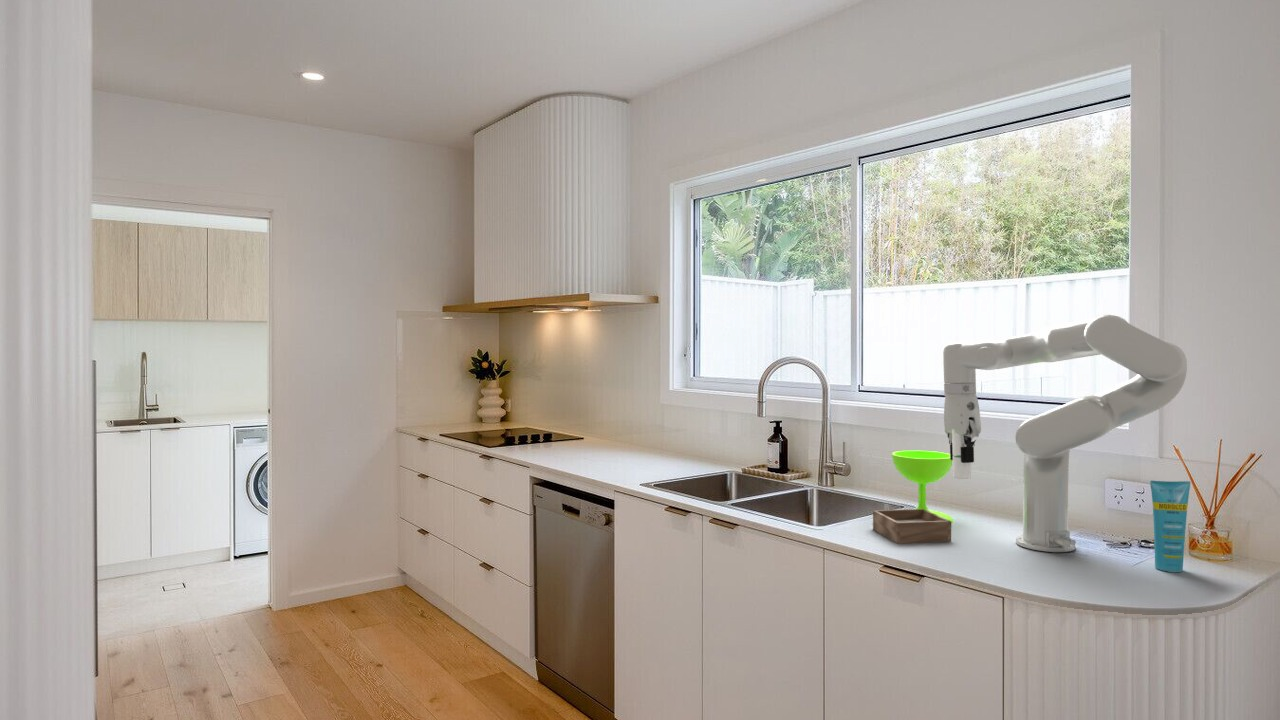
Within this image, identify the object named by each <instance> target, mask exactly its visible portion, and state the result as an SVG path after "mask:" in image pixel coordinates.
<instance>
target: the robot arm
mask: <svg viewBox="0 0 1280 720" xmlns="http://www.w3.org/2000/svg"><path fill="white" fill-rule="evenodd" d="M942 355H943V357H942V358H943V360H942V361H943V364H942V365H943V389H944V390H943V391H944V392H943V396H944V398H945V399H944V404H943V405H944V407H943V408H944V409H943V424H944V425H943V426H944V432H945V434H946V435H947V438H948V444H949V454H950V459H951V460H953V448H952V429H954V431H955V433H957V434H959V435H961V441H962V446H963V447H961V462H962V463H971V464H972V463H975V451H974V450H975V446H976V444H975V443H976V441H977V439H978V438H980V437H979V436H980V434H981V432H982V426H981V425H982V424H981V413H980V412H981V411H980V404H979V400H978V396H977V383H976V382H977V380H976V375H977V374H976V370H981V371H983V370H985V371H992V370H993V371H994V370H1003V369H1007V368H1013V367H1019V366H1026V365H1031V364H1038V363H1040V364H1041V363H1056V362H1063V361H1068V360H1073V359H1075V360H1076V359H1081V358H1086V357H1087V358H1088V357H1095V356H1100V355H1101V356H1104V357H1105V358H1107V359H1109V360H1110V361H1112V362H1114V363H1116V364H1118V365H1120V366H1121V367H1124V368H1125V369H1127V370H1129V371H1131V372H1133V373H1135V374H1136V375H1135V376H1134V377H1132V378H1130V379H1128V380H1125V381H1123V382H1120V383H1118V384H1117V385H1114V386H1112V387H1110V388H1107V389H1105V390H1102V391H1100V392H1096V393H1095V394H1092V395H1086V396H1082V397H1079V398H1077V399H1074V400H1071V401H1070V402H1067V403H1064V404H1062V405H1059V406H1057V407H1055V408H1053V409H1049V410H1048V411H1045V412H1042V413H1040V414H1038V415H1035V416H1033V417H1030V418H1028V419H1026V420H1024V421H1023V422H1022V423H1021V424H1020V425H1019V426H1018V428H1017V429H1016V432H1015V443H1016V446H1017V448H1018V449H1019V450H1020V451H1021V453H1023V454H1024V457H1023V470H1022V471H1023V473H1022V474H1023V475H1022V476H1023V477H1022V478H1023V483H1022V486H1023V487H1022V488H1023V489H1022V513H1023V514H1022V534H1020V535H1018V536H1016V537H1015V543H1016V545H1018V546H1020V547H1023V548H1025V549H1029V550H1034V551H1040V552H1047V553H1068V552H1073V551H1075V550H1076V544H1077V542H1076V540H1075V539H1073V538H1071V532H1070V531H1069V470H1070V469H1069V467H1070V465H1069V463H1070V462H1069V461H1070V450H1072V449H1075V448H1077V447H1080V446H1083V445H1085V444H1088V443H1091V442H1093V441H1096V440H1097V439H1100V438H1102V437H1103V436H1105V435H1106V434H1108V433H1109V432H1110V431H1112V430H1114V429H1116V428H1118V427H1121V426H1123V425H1125V424H1128V423H1130V422H1133V421H1136V420H1137V419H1140V418H1143V417H1144V416H1148V415H1149V414H1152V413H1154V412H1157V411H1158V410H1160V409H1162V408H1164V407H1165V406H1166V405H1168V404H1170V402H1172V401H1173V399H1174V398H1176V397H1177V396H1178V394H1179V393H1180V391H1182V388H1183V386H1184V385H1185V381H1186V378H1187V370H1188V369H1187V368H1188V363H1187V362H1188V361H1187V357H1186V355H1185V352H1184V351H1183V349H1182V348H1180V347H1179V346H1177V344H1174V343H1171V342H1168V341H1165V340H1163V339H1160V338H1158V337H1156V336H1154V335H1152V334H1150V333H1148V332H1146V331H1144V330H1142V329H1140V328H1138V327H1136V326H1135V325H1133V324H1131V323H1129V322H1128V321H1127V320H1126V319H1125V318H1123V317H1121V316H1117V315H1112V314H1102V315H1099V316H1097V317H1096V316H1095V318H1089V319H1088V318H1087V319H1084V320H1078V321H1072V322H1067V323H1062V324H1056V325H1051V326H1050V325H1049V326H1047V327H1044V328H1042V329H1040V330H1038V331H1035V332H1032V333H1028V334H1023V335H1018V336H1012V337H1007V338H1006V337H1005V338H1001V339H985V340H979V341H978V340H977V341H971V342H970V341H953V342H952V341H950V342H946V343H945V344H944V345H943V348H942ZM967 432H969V434H966V433H967ZM965 437H968V438H967V439H966V438H965Z"/></svg>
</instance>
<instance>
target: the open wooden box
mask: <svg viewBox="0 0 1280 720" xmlns="http://www.w3.org/2000/svg"><path fill="white" fill-rule="evenodd" d="M872 529H873V530H874V531H875V532H877V533H878V534H880V535H882V536H884V537H885V538H887V539H889V540H890V541H892V542H894V543H896V544H912V543H913V544H919V543H920V544H921V543H942V542H944V543H945V542H946V543H947V542H952V523H951V521H950V520H947V519H945V518H943V517H941V516H938V515H936V514H934V513H932V512H929V511H927V510H925V509H916V508H913V509H911V508H909V509H882V510H881V509H880V510H878V509H877V510H872Z"/></svg>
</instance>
